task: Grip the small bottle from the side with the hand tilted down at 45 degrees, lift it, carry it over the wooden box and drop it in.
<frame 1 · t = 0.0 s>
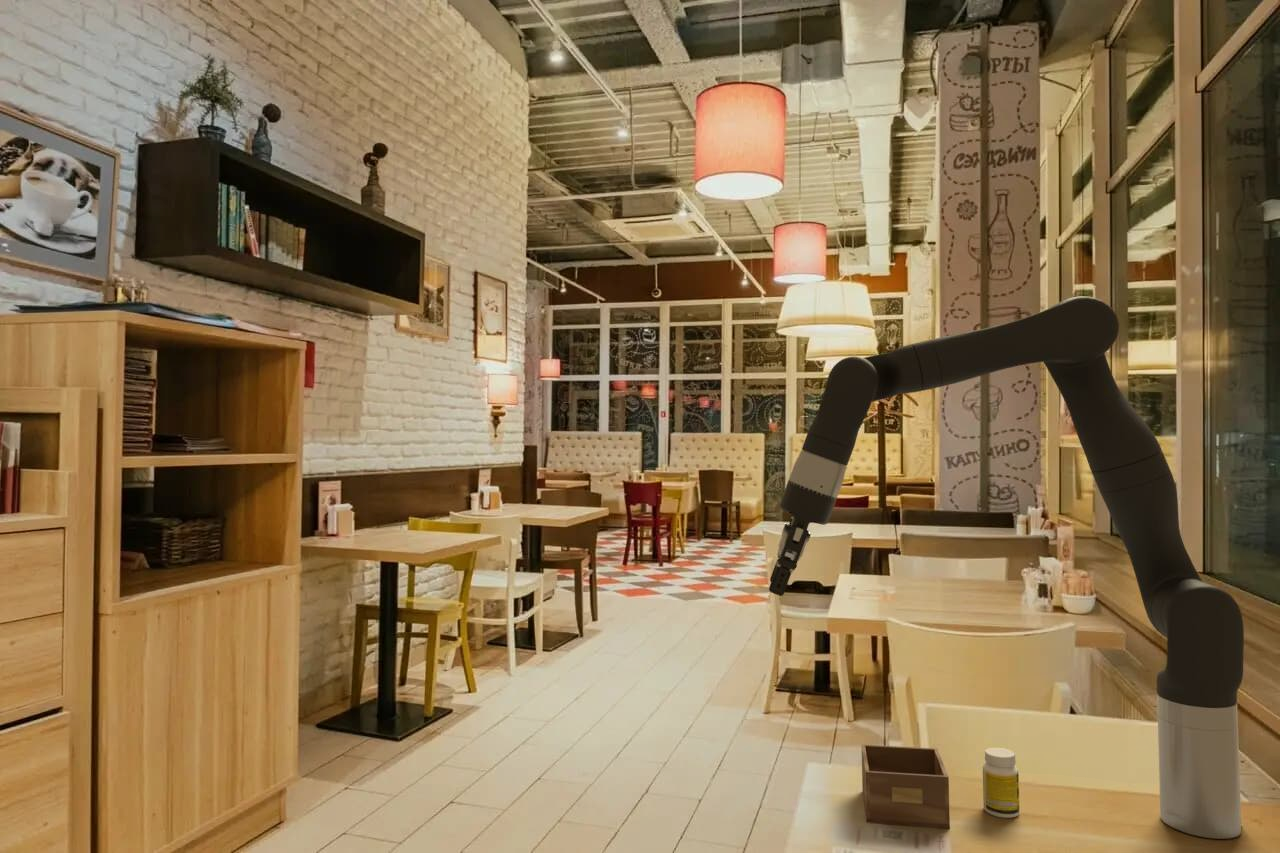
hand: (775, 588, 126), 31 cm above the table, tool tilted 20°, fingers open, 8 cm apart
supplement bottle: (1001, 813, 121), on the table
wooden box: (903, 808, 122), on the table
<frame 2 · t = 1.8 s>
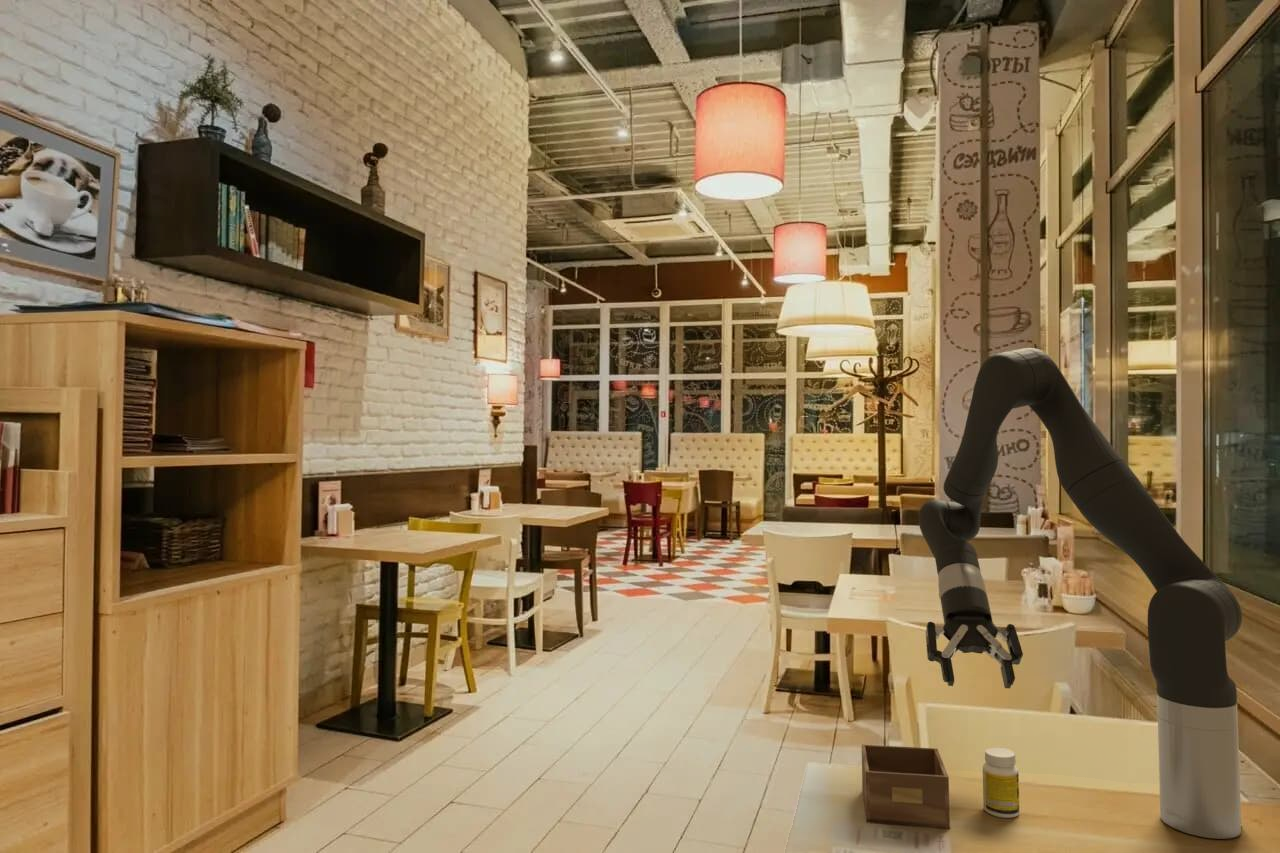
hand: (980, 684, 132), 15 cm above the table, tool tilted 45°, fingers open, 8 cm apart
nothing on the table moved.
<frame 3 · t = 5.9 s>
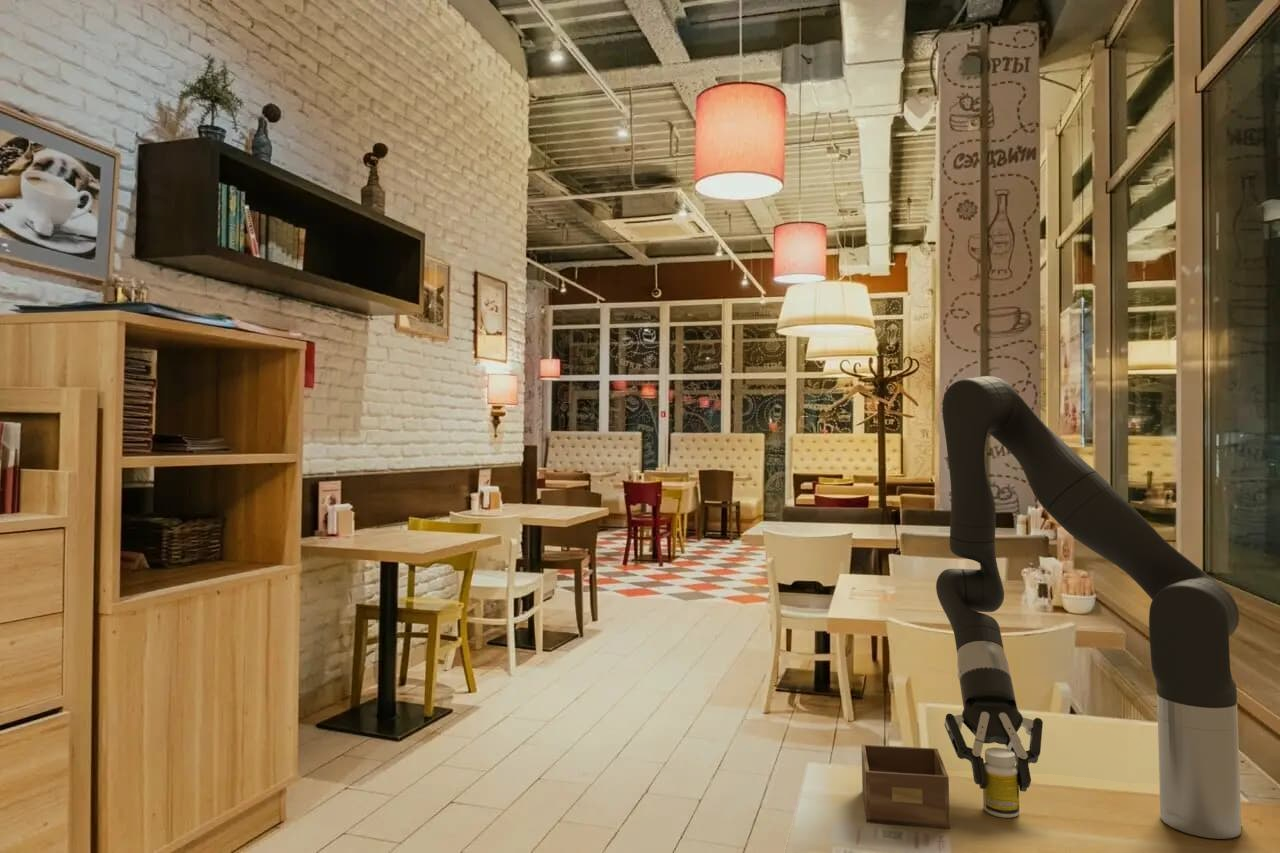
hand: (1003, 787, 119), 4 cm above the table, tool tilted 45°, fingers closed on supplement bottle, 4 cm apart
supplement bottle: (1001, 812, 121), on the table, touching gripper
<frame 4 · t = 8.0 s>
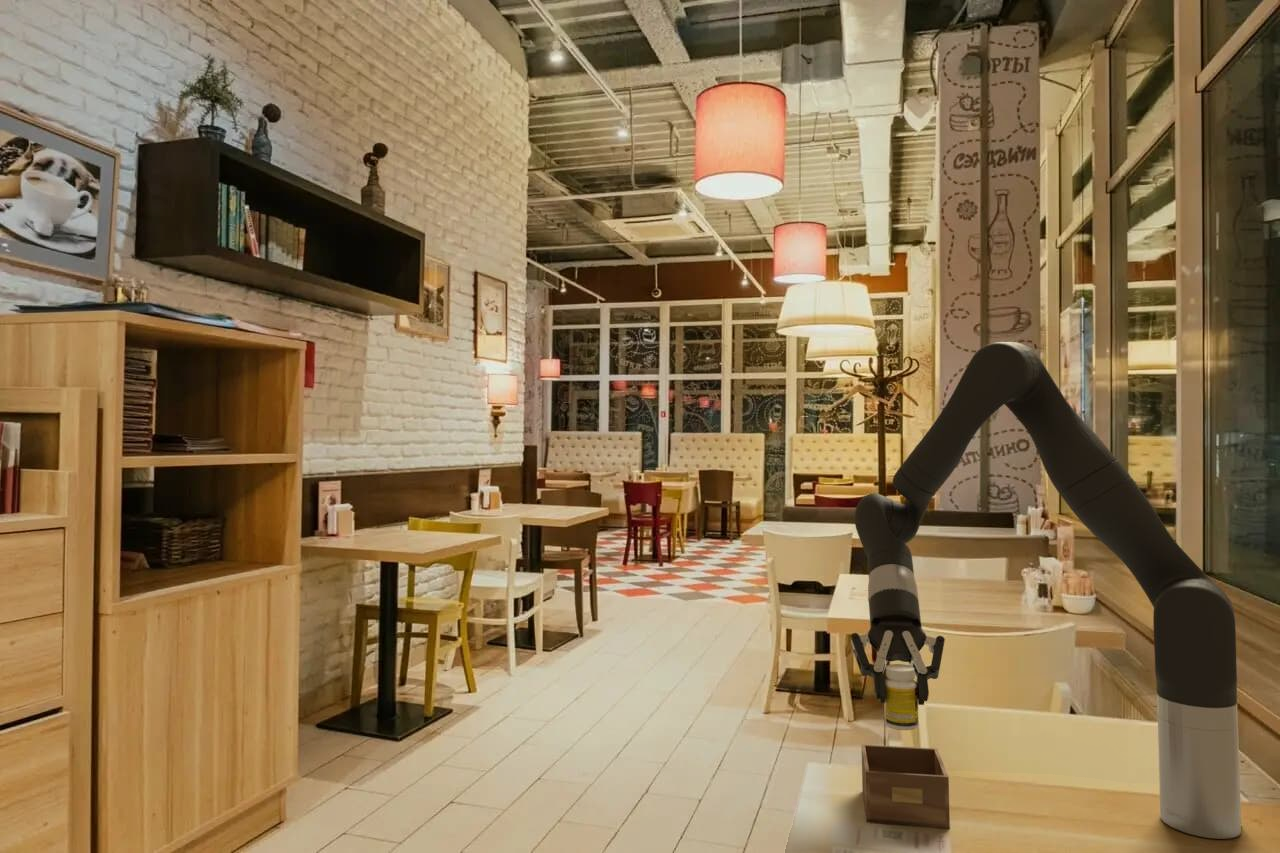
hand: (902, 700, 121), 16 cm above the table, tool tilted 45°, fingers closed on supplement bottle, 4 cm apart
supplement bottle: (901, 726, 123), point 12 cm above the table, touching gripper
when the fingers open (9 cm above the table, at t = 10.0 s): supplement bottle drops 4 cm, resting on wooden box.
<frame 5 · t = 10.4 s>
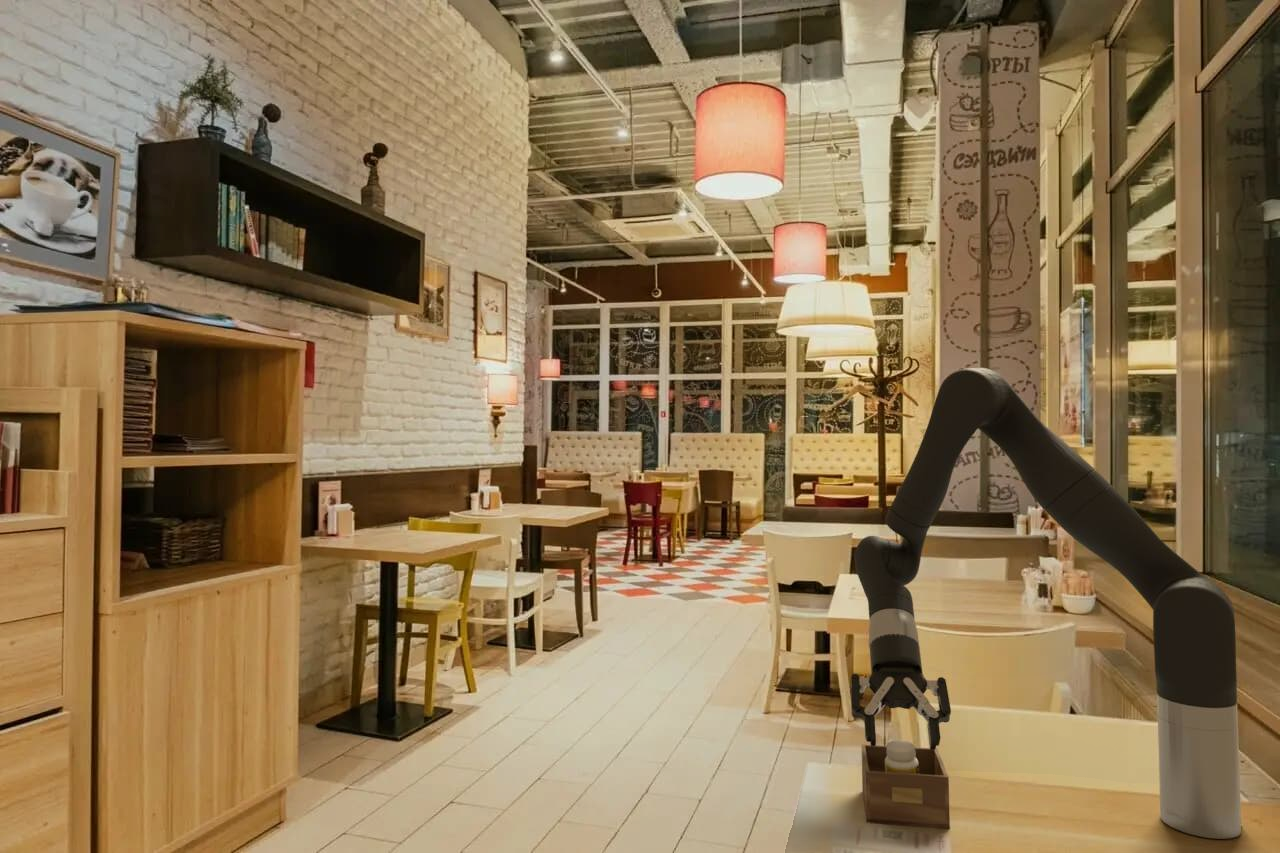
hand: (903, 745, 121), 10 cm above the table, tool tilted 45°, fingers open, 8 cm apart
supplement bottle: (904, 803, 122), point 1 cm above the table, touching wooden box
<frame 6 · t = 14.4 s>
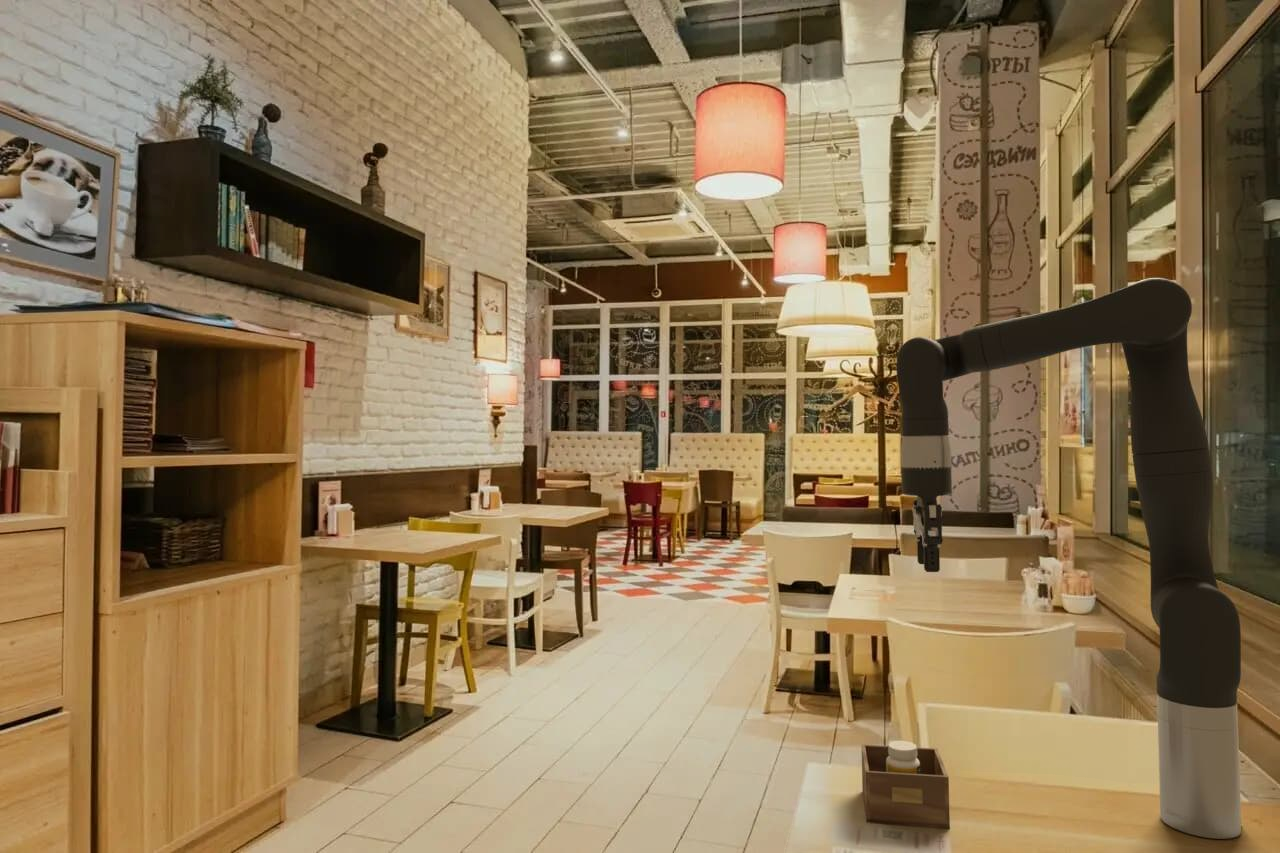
hand: (928, 567, 133), 33 cm above the table, tool pointing down, fingers open, 8 cm apart
nothing on the table moved.
at the end: supplement bottle 0.3 cm from the wooden box (horizontally); supplement bottle resting on wooden box; the gripper is holding nothing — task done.
